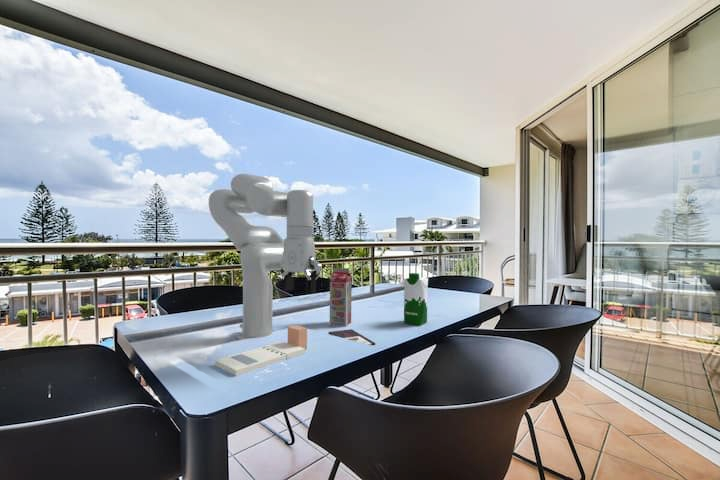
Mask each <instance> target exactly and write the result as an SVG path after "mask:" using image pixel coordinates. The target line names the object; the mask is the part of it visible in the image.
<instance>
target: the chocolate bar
mask: <svg viewBox="0 0 720 480" xmlns="http://www.w3.org/2000/svg"><path fill="white" fill-rule="evenodd" d="M328 334H329V335H330V336H333V337H338V338H341V339H346V340H349V341H354V342H356V343H357V342H358V343H360V344H364V345H367V346H368V345H369V346H375V345H376V342H374V341H373V340H370V339H369V338H368V337H366V336H364V335H363V334H361V333H359V332H357V331H355V330H354V329H352V328H350V329H343V330H334V331H328Z"/></svg>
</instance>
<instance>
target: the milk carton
mask: <svg viewBox="0 0 720 480" xmlns="http://www.w3.org/2000/svg"><path fill="white" fill-rule="evenodd" d="M408 275H409V276H408V277H404V278H403V288H404V289H403V322H404V323H403V324H408V325H413V326H420V327H421V326H423V325H424V324H427V322H428V285H429V278H428V277H420V273H415V272H411V273H408Z"/></svg>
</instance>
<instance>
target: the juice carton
mask: <svg viewBox="0 0 720 480" xmlns="http://www.w3.org/2000/svg"><path fill="white" fill-rule="evenodd" d="M352 279H353V278H352V274H351V273H350V268H348V267H347V268H346V267H345V268H344V267H333V268H332V273H331V275H330V276H329V323H328V325H329V326H334V327H343V328H346V327H348V326H349V325H350V324H351V323H352V293H353V292H352V289H353V288H352V287H353V285H352Z"/></svg>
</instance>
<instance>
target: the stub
mask: <svg viewBox="0 0 720 480" xmlns="http://www.w3.org/2000/svg"><path fill="white" fill-rule="evenodd" d="M264 347H266V348H269V349H272V350H274V351H277V352H280V353H283V354H285V355H286V360H290V359H292V358H295V357H299V356H302V355H304V354H305V353H306V352H305V351H306V350H307V349H308V327H304V326H299V325H297V324H296V325H291V326H287V342H286V341H278V342H275V343H274V342H273V343H272V344H271V343H270V344H267V345H265V346H264Z"/></svg>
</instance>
